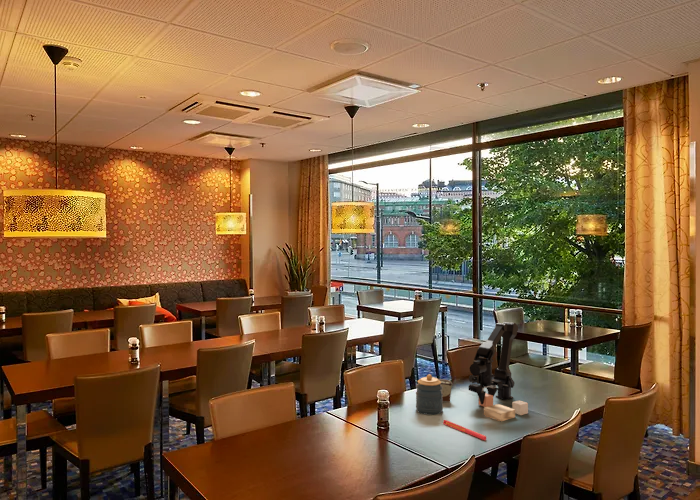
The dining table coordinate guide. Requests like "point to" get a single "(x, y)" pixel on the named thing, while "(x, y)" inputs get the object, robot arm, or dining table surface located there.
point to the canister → (429, 396)
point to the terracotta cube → (487, 400)
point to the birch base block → (499, 412)
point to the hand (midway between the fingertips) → (485, 402)
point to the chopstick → (464, 430)
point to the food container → (446, 389)
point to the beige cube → (520, 407)
